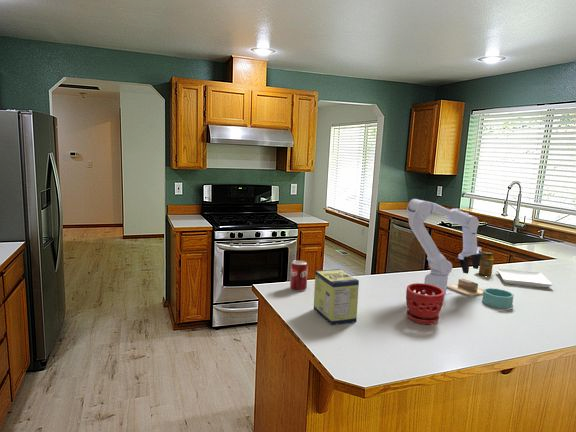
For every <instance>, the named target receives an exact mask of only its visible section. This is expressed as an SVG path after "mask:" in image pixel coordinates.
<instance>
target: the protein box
mask: <svg viewBox="0 0 576 432" xmlns="http://www.w3.org/2000/svg"><path fill="white" fill-rule="evenodd" d="M359 282H360V280H358V279H357V278H355V277H354V276H352V275H350V274H348V273H347V272H345V271H343V270H342V269H339V268H335V269H322V270H320V269H319V270H315V273H314V291H313V292H314V295H313V311H315V312H316V313H317V314H318V315H319V316H320V317H321V318H322V319H324V320H325V321H326V322H327V323H328V324H330V325H331V326H332V325H333V326H334V325H341V324H348V323H355V322H357V319H358V318H357V317H358V302H359V301H358V300H359V284H360V283H359Z"/></svg>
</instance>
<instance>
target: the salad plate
mask: <svg viewBox="0 0 576 432" xmlns="http://www.w3.org/2000/svg"><path fill="white" fill-rule="evenodd" d="M495 270H496V272H497V274H498V275H500V276H501V278H502V280H503V281H504V282H505V283H506V284H509V285H514V286H523V287H532V288H533V287H534V288H548V287H549V288H550V287H551V286H553V283H552V282H551V281H550V280H549V279H548V278H547V277H546V276H545V275H544V274H543V273H542V272H538V271H530V270H529V271H528V270H523V269H522V270H520V269H519V270H518V269H507V268H495Z"/></svg>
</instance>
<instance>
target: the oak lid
mask: <svg viewBox="0 0 576 432" xmlns="http://www.w3.org/2000/svg"><path fill="white" fill-rule="evenodd" d="M447 289H450V290H452V291H455V292H457V293H460V294H462V295H465V296H467V297H473V296H478V295H483V291H484V288H483V289H482V288H480V287H479V283H477V282H475V281H471V280H469V279H465V278H459V279H458V283H457V284H451V285H450V284H449V285H447ZM450 290H449V291H450ZM452 291H451V292H452ZM455 292H454V293H455ZM457 293H456V294H457ZM460 294H459V295H460ZM462 295H461V296H462ZM465 296H464V297H465ZM467 297H466V298H467Z"/></svg>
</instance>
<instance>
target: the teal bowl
mask: <svg viewBox="0 0 576 432" xmlns="http://www.w3.org/2000/svg"><path fill="white" fill-rule="evenodd" d="M483 290H484V291H483V296H482V299H481V300H482V301H481V302H483V304H485V305H488V306H490V307H493V308H498V309H505V310H511V309H512V308H513V303H514V296H515V294H514V293H512V292H511V291H507V290H504V289H500V288H493V287H489V288H483Z"/></svg>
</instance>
